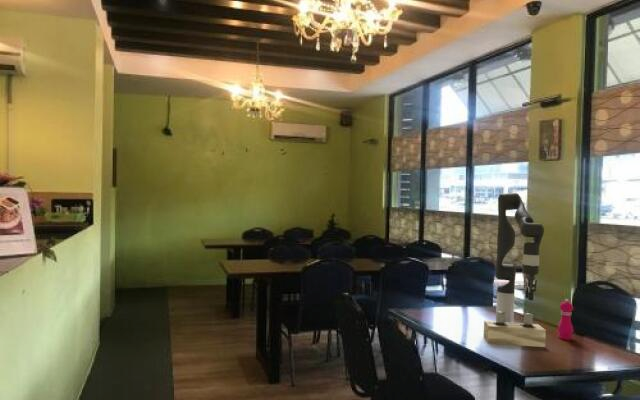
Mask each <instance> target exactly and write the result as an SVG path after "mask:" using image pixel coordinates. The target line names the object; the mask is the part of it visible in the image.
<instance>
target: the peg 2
mask: <svg viewBox="0 0 640 400" xmlns="http://www.w3.org/2000/svg"><path fill="white" fill-rule="evenodd" d="M533 320H534V314H533V313H529V312H524V313H523V323H524V327H532V326H533V324H534V321H533Z"/></svg>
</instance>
